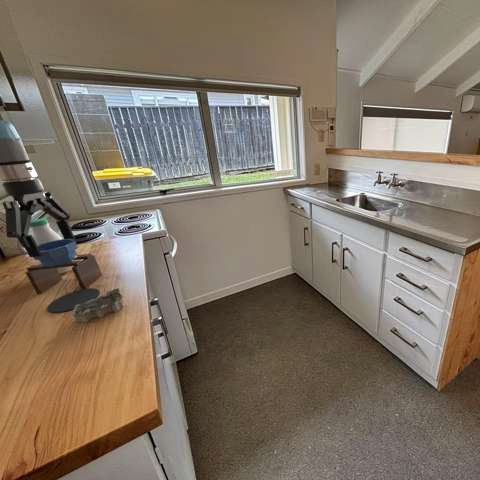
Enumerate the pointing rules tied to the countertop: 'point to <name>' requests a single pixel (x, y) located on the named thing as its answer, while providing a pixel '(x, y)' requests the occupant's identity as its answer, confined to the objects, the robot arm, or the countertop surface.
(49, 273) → the rack
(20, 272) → the countertop surface
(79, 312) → the egg carton
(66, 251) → the bowl
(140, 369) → the countertop surface
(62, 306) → the mat
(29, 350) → the countertop surface
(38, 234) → the milk bottle
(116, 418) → the countertop surface
